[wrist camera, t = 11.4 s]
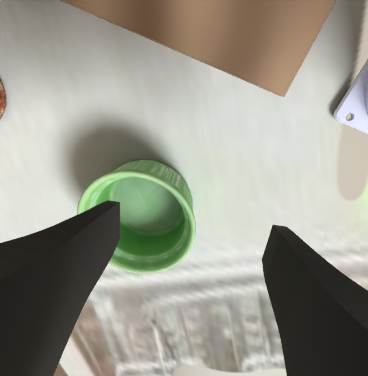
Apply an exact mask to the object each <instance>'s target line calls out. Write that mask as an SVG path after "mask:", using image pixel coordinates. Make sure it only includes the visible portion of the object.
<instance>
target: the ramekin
mask: <svg viewBox="0 0 368 376" xmlns="http://www.w3.org/2000/svg"><path fill="white" fill-rule="evenodd" d="M107 200H109V201H116V202H120V239H119V242H118V244H117V247H116V249H115V251H114V254H113V256H112V258H111V259H110V261H109V264H111V265H113V266H114V267H117V268H119V269H122V270H125V271H129V272H133V273H157V272H161V271H164V270H167V269H169V268H171V267H173V266H175V265H177V264H178V263H179V262H181V261H182V260H183V259H184V258H185V256H186V255H187V254H188V253H189V251H190V249H191V247H192V245H193V242H194V239H195V233H196V224H195V218H194V214H193V201H192V196H191V192H190V190H189V187H188V185H187V184H186V182H185V180H184V179H183V178H182V177H181V176H180V175H179V174H178V173H177V172H176V171H175V170H173V169H172V168H170V167H169V166H167V165H165V164H162V163H159V162H156V161H152V160H135V161H131V162H128V163H125V164H123V165H121V166H119V167H118V168H116V169H115V170H113V171H112V172H110V173H107V174H105V175H102V176H101V177H99V178H97V179H96V180H94V181H93V182H92V183H91V184H90V185H89V186H88V187H87V188H86V189H85V191H84V192H83V194H82V196H81V198H80V201H79V204H78V209H77V215H78V214H80V213H82V212H84V211H86V210H88V209H90V208H92V207H94V206H96V205H98V204H100V203H102V202H105V201H107Z"/></svg>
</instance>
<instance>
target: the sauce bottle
mask: <svg viewBox="0 0 368 376" xmlns="http://www.w3.org/2000/svg"><path fill="white" fill-rule="evenodd" d="M5 101H6V95H5V91H4V88H3V85H2V83H1V81H0V119H1V117H2V115H3V113H4V111H5V107H6V102H5Z"/></svg>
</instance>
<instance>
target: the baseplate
mask: <svg viewBox="0 0 368 376" xmlns="http://www.w3.org/2000/svg"><path fill="white" fill-rule="evenodd" d="M61 1H63V2H65V3H68V4H70V5H72V6H74V7H77V8H79V9H81V10H84V11H86V12H88V13H91V14H93V15H95V16H98V17H100V18H102V19H104V20H107V21H109V22H111V23H114V24H116V25H118V26H121V27H123V28H125V29H127V30H130V31H132V32H134V33H137V34H139V35H141V36H144V37H146V38H148V39H150V40H153V41H155V42H157V43H160V44H162V45H164V46H167V47H169V48H171V49H173V50H176V51H178V52H180V53H183V54H185V55H187V56H190V57H192V58H194V59H196V60H199V61H201V62H203V63H206V64H208V65H210V66H213V67H215V68H217V69H219V70H222V71H224V72H226V73H229V74H231V75H233V76H236V77H238V78H240V79H242V80H245V81H247V82H249V83H252V84H254V85H256V86H259V87H261V88H263V89H265V90H268V91H270V92H272V93H275V94H277V95H280V96H283V97H284V96H285V95H286V93H287V91H288V89H289V87H290V85H291V83H292V81H293V80H294V78H295V76H296V74H297V72H298V70H299V68H300V67H301V65H302V63H303V61H304V59H305V57H306V55H307V54H308V52H309V50H310V48H311V46H312V44H313V42H314V41H315V39H316V37H317V35H318V33H319V31H320V29H321V28H322V26H323V24H324V22H325V20H326V18H327V16H328V15H329V13H330V11H331V9H332V7H333V5H334V3H335V2H336V0H61Z"/></svg>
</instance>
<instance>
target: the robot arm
mask: <svg viewBox="0 0 368 376" xmlns="http://www.w3.org/2000/svg"><path fill="white" fill-rule="evenodd" d="M349 113H351V118H350V119H349V120H346V116H347V115H348V114H349ZM334 118H335V119H336V120H337V121H339V122H342V123H344V124H346V125H349V126H351V127H353V128H356V129H358V130H360V131H362V132H365V133H367V134H368V60H367V62H366V63H365V65H364V66H363V68H362V69H361V71H360V73H359V74H358V76H357V77H356V79H355V80H354V82H353V83H352V85H351V87H350V88H349V90H348V91H347V93H346V94H345V96H344V97H343V99H342V101H341V102H340V104H339V105H338V107H337V108H336V110H335V112H334ZM119 239H120V202H116V201H109V200H107V201H105V202H102V203H100V204H98V205H96V206H94V207H92V208H90V209H88V210H86V211H84V212H82V213H80V214H78V215H76V216H74V217H72V218H70V219H67V220H65V221H63V222H61V223H59V224H56V225H54V226H52V227H49V228H47V229H44V230H41V231H39V232H36V233H33V234H30V235H27V236H24V237H20V238H17V239H13V240H10V241H6V242H3V243H0V376H53V375H54V373H55V370H56V368H57V365H58V363H59V361H60V358H61V356H62V353H63V351H64V349H65V346H66V344H67V342H68V339H69V337H70V335H71V333H72V330H73V328H74V326H75V324H76V321H77V319H78V317H79V315H80V313H81V311H82V308H83V306H84V304H85V302H86V300H87V299H88V297H89V295H90V293H91V291H92V290H93V288H94V286H95V285H96V283H97V281H98V280H99V278H100V276H101V275H102V273H103V271H104V270H105V268H106V266H107V264H108V263H109V261H110V259H111V258H112V256H113V254H114V251H115V249H116V247H117V244H118V242H119ZM262 264H263V272H264V278H265V283H266V286H267V290H268V294H269V297H270V301H271V304H272V308H273V311H274V315H275V318H276V322H277V325H278V329H279V334H280V338H281V343H282V349H283V355H284V360H285V367H286V373H287V376H368V291H367V290H366V289H364V288H363V287H361V286H360V285H358V284H357V283H356V282H354V281H353V280H351V279H350V278H348V277H347V276H346V275H344V274H343V273H341V272H340V271H339V270H338V269H336V268H335V267H334V266H332V265H331V264H330V263H329V262H327V261H326V260H325V259H324V258H323V257H321V256H320V255H319V254H318V253H317V252H315V251H314V250H313V249H312V248H311V247H310V246H309V245H307V244H306V243H305V242H304V241H303V240H302V239H301V238H299V237H298V236H297V235H296V234H295V233H294V232H292V231H291V230H290V229H289V228H287V227H285V226H278V225H273V226H272V229H271V232H270V236H269V239H268V242H267V245H266V248H265V251H264V255H263V258H262Z"/></svg>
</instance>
